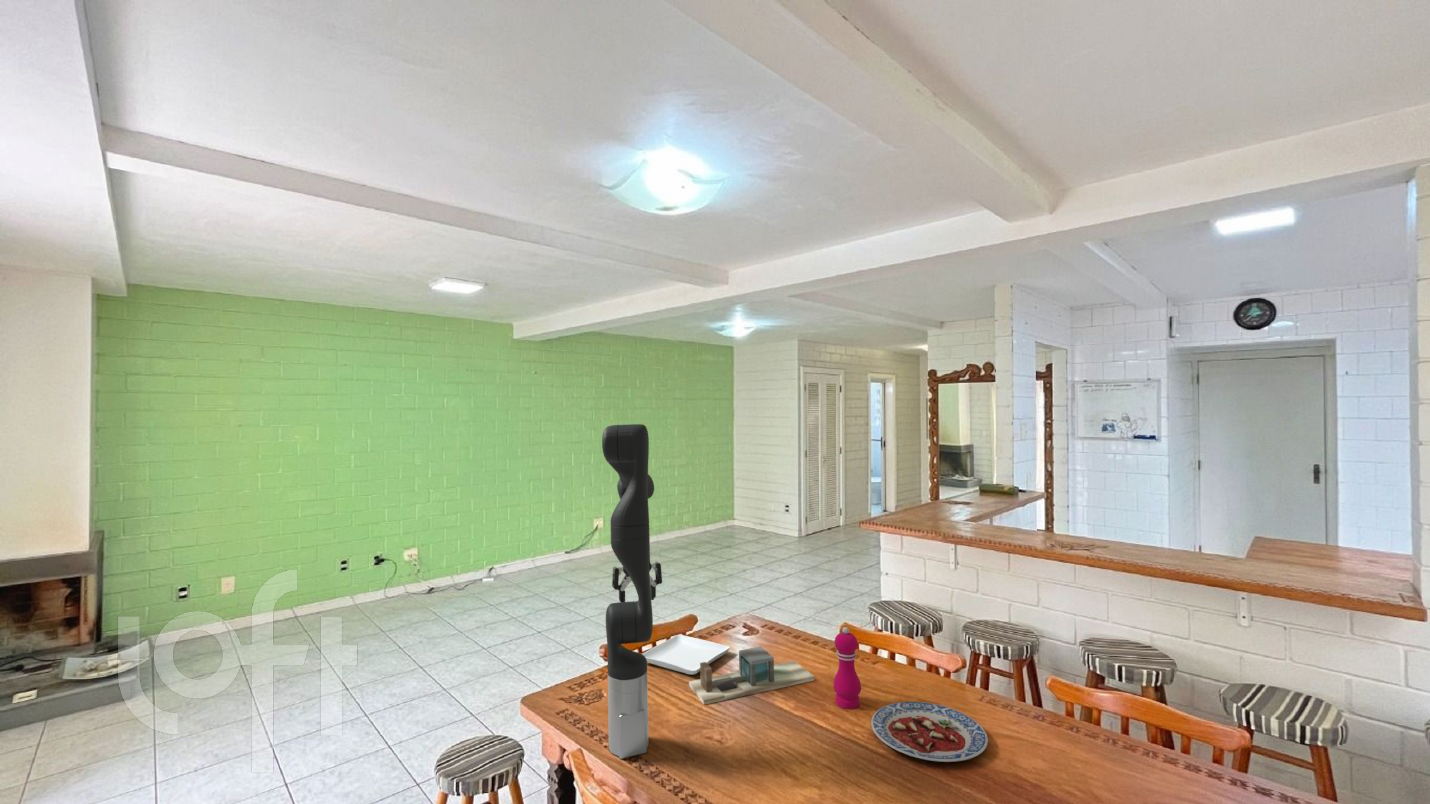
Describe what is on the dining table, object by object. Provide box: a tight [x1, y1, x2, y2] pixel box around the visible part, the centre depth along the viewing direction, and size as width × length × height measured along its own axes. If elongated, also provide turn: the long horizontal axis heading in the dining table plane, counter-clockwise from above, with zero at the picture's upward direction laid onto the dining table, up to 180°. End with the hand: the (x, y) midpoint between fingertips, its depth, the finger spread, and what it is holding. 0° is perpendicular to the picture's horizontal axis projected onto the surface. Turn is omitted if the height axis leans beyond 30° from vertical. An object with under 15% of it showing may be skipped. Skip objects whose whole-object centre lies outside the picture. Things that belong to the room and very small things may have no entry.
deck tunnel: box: [688, 646, 815, 705], centre depth 167 cm, size 12×34×8 cm, turn 112°
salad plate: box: [641, 634, 731, 676], centre depth 184 cm, size 21×21×3 cm
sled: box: [699, 658, 768, 692], centre depth 165 cm, size 5×19×6 cm, turn 112°
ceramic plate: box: [871, 701, 989, 763], centre depth 138 cm, size 26×26×3 cm
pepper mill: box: [832, 626, 862, 710], centre depth 155 cm, size 7×7×20 cm
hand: (637, 601), depth 169 cm, fingers open, 8 cm apart
